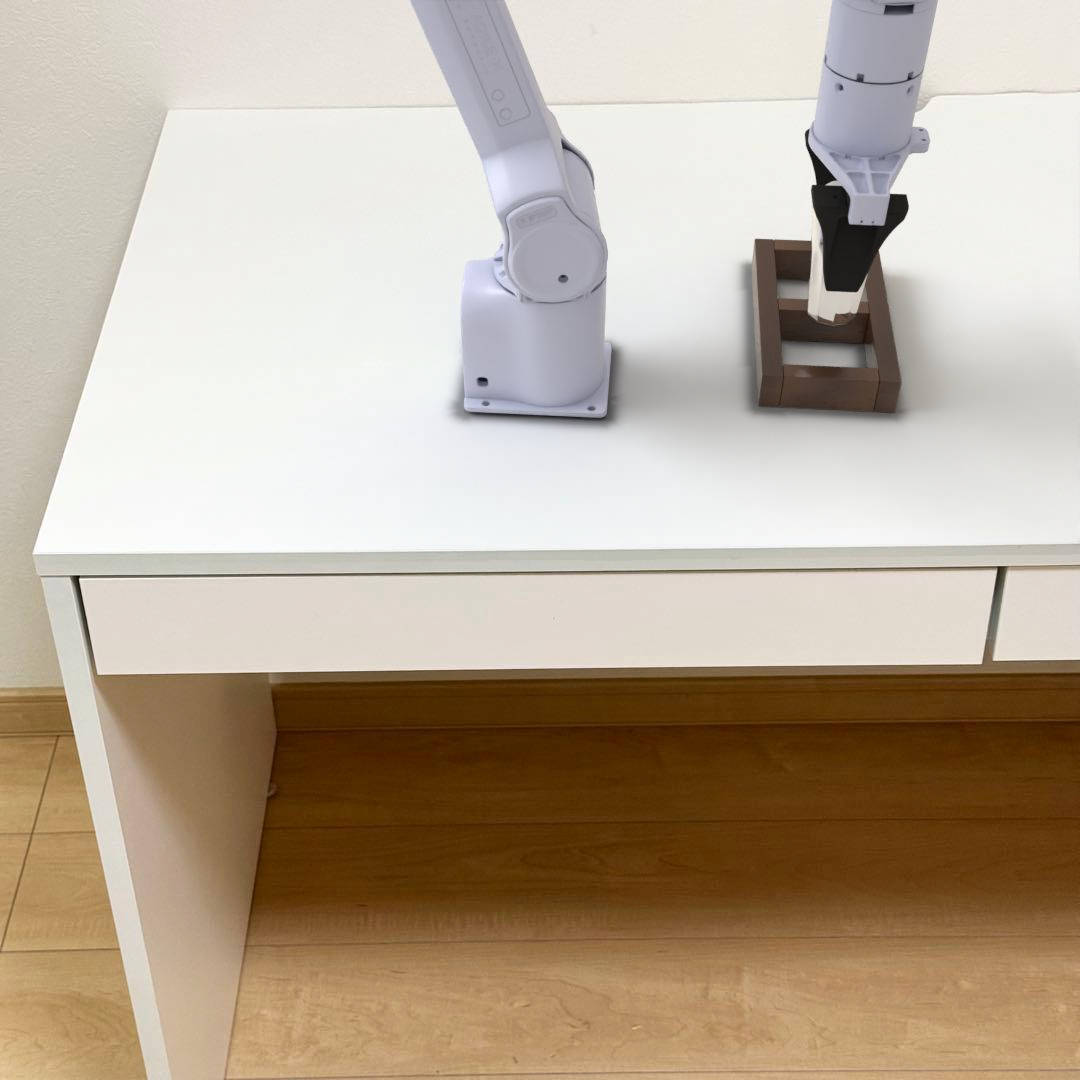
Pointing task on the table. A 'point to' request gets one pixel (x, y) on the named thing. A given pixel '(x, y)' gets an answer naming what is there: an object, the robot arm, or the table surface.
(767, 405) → the rack
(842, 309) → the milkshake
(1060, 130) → the table surface
